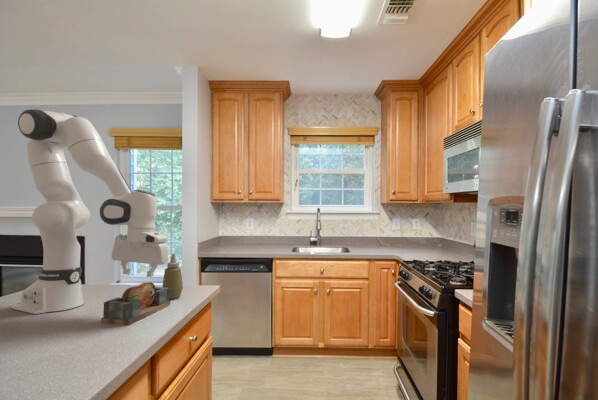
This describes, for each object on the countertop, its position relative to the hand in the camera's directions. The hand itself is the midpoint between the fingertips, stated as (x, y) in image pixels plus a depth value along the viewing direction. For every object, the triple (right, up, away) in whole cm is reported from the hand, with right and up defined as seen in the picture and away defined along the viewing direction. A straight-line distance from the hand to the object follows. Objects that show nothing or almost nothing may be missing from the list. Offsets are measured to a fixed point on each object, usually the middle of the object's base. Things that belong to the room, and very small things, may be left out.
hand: (138, 275), depth 111 cm
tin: (0, -12, 0) cm, 12 cm away
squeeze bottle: (+4, -14, +19) cm, 24 cm away
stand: (+1, -13, -1) cm, 13 cm away
